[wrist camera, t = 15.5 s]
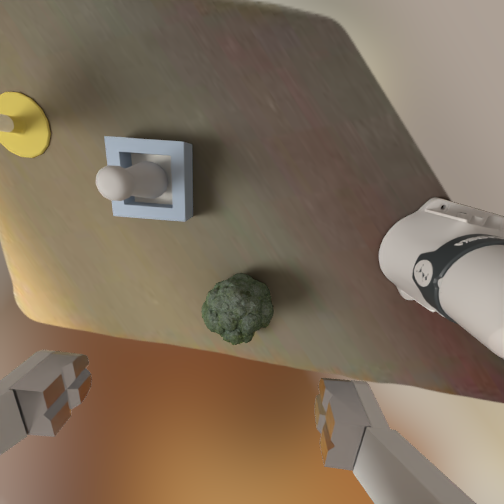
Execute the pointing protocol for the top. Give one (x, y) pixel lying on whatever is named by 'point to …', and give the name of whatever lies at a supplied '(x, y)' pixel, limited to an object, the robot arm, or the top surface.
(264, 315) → the vegetable
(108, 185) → the salt shaker
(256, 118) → the top surface
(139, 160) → the container
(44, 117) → the candle
